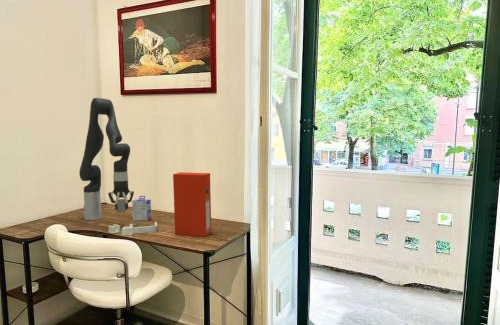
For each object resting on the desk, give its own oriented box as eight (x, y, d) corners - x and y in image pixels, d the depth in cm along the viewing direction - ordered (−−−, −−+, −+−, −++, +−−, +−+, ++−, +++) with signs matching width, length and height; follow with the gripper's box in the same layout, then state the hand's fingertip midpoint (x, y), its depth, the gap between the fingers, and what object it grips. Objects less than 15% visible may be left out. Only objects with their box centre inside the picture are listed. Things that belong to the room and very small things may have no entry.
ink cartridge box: (151, 218, 205) (151, 195, 204) (147, 221, 200) (146, 197, 198) (137, 218, 207) (136, 195, 206) (132, 220, 202) (131, 196, 200)
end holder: (129, 233, 175) (129, 228, 175) (130, 229, 183) (130, 223, 183) (157, 231, 179) (157, 226, 179) (156, 226, 188) (156, 221, 187)
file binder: (205, 237, 169) (204, 175, 166) (174, 234, 173) (173, 174, 170) (211, 232, 177) (210, 173, 173) (181, 230, 181) (180, 172, 178)
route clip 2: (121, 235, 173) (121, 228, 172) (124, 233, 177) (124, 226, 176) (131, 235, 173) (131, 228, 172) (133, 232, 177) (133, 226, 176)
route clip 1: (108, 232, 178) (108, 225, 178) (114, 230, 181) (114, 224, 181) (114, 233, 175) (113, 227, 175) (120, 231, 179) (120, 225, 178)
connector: (117, 212, 182) (117, 201, 181) (119, 207, 192) (118, 197, 192) (125, 211, 183) (125, 201, 182) (126, 207, 193) (126, 197, 193)
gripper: (134, 178, 189) (135, 207, 191) (107, 179, 185) (108, 209, 187) (134, 180, 182) (135, 210, 184) (106, 181, 178) (107, 212, 179)
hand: (121, 209), depth 185 cm, fingers closed on connector, 4 cm apart
